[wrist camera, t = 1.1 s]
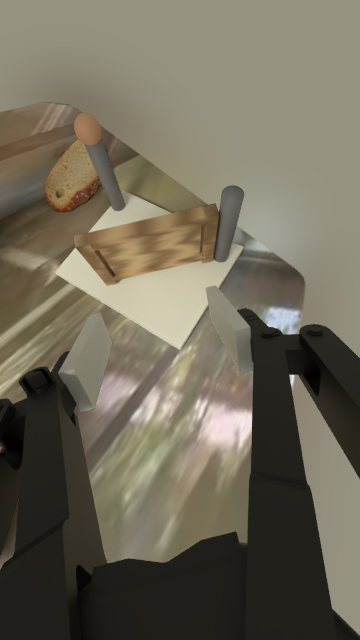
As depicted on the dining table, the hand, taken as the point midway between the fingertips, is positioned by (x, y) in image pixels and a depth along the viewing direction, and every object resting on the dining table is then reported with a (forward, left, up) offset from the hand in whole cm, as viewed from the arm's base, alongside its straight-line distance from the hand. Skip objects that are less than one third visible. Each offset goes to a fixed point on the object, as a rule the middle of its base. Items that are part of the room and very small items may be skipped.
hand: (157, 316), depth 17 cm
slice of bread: (-45, +25, -25) cm, 57 cm away
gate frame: (-16, +14, -25) cm, 32 cm away
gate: (-12, +13, -23) cm, 29 cm away
